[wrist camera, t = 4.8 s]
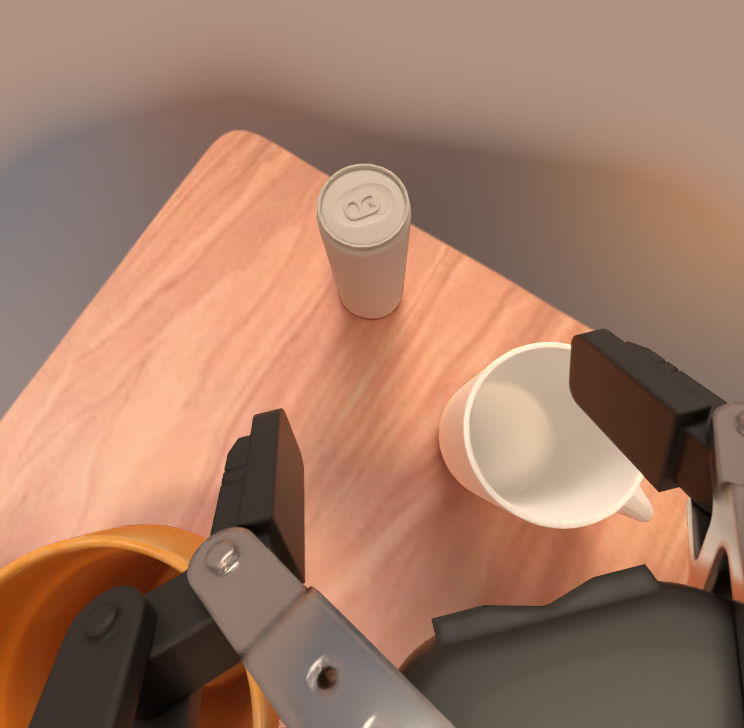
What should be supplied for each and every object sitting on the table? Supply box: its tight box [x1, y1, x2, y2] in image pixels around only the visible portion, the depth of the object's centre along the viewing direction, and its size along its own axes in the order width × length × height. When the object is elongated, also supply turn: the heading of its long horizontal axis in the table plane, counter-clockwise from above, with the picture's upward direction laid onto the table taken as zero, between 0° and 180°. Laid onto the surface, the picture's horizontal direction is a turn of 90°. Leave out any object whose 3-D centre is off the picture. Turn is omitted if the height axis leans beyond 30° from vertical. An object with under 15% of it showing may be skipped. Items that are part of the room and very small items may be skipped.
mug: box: [439, 342, 653, 529], centre depth 25 cm, size 9×12×11 cm
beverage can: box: [317, 164, 411, 319], centre depth 27 cm, size 5×5×12 cm
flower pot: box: [0, 525, 280, 728], centre depth 22 cm, size 14×14×13 cm
